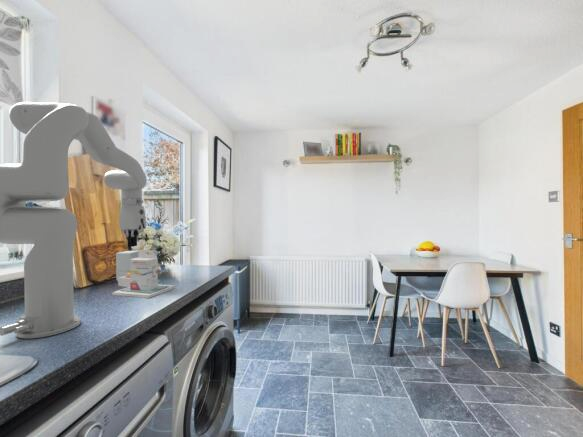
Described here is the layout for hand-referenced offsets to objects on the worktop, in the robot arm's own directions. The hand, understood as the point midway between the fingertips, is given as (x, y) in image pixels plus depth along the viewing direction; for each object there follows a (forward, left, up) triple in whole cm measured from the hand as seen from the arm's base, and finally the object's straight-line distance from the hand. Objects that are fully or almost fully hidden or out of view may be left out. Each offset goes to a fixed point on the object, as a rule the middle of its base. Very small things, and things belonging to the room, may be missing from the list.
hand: (132, 246), depth 116 cm
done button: (0, 0, -14) cm, 14 cm away
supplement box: (+8, +10, -17) cm, 21 cm away
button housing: (0, 0, -16) cm, 16 cm away
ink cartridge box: (-8, -13, -15) cm, 22 cm away
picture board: (-7, -13, -16) cm, 22 cm away
